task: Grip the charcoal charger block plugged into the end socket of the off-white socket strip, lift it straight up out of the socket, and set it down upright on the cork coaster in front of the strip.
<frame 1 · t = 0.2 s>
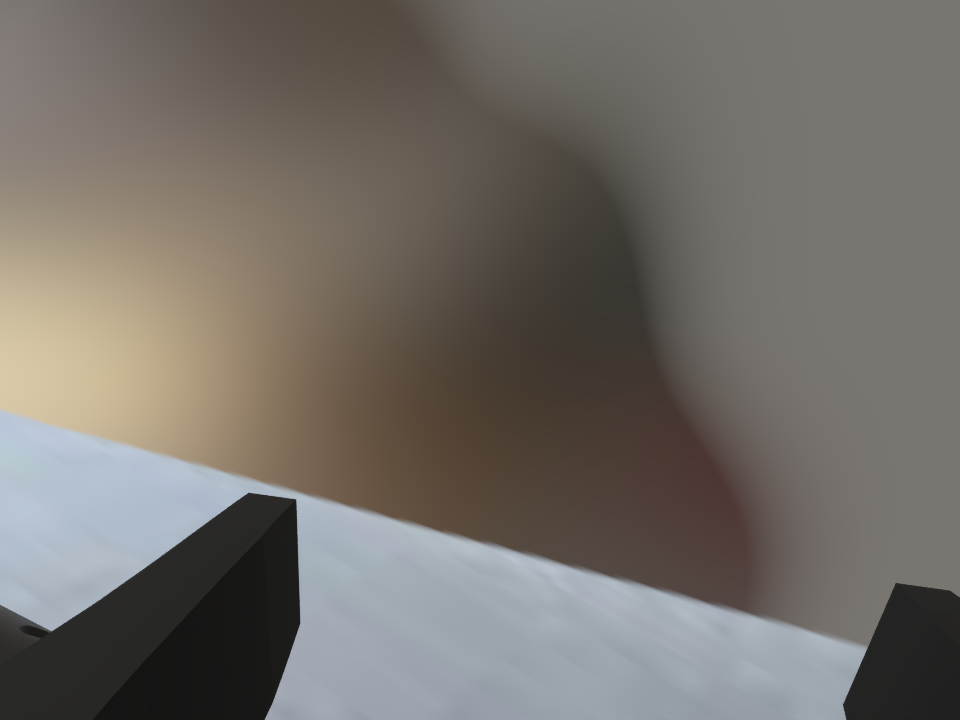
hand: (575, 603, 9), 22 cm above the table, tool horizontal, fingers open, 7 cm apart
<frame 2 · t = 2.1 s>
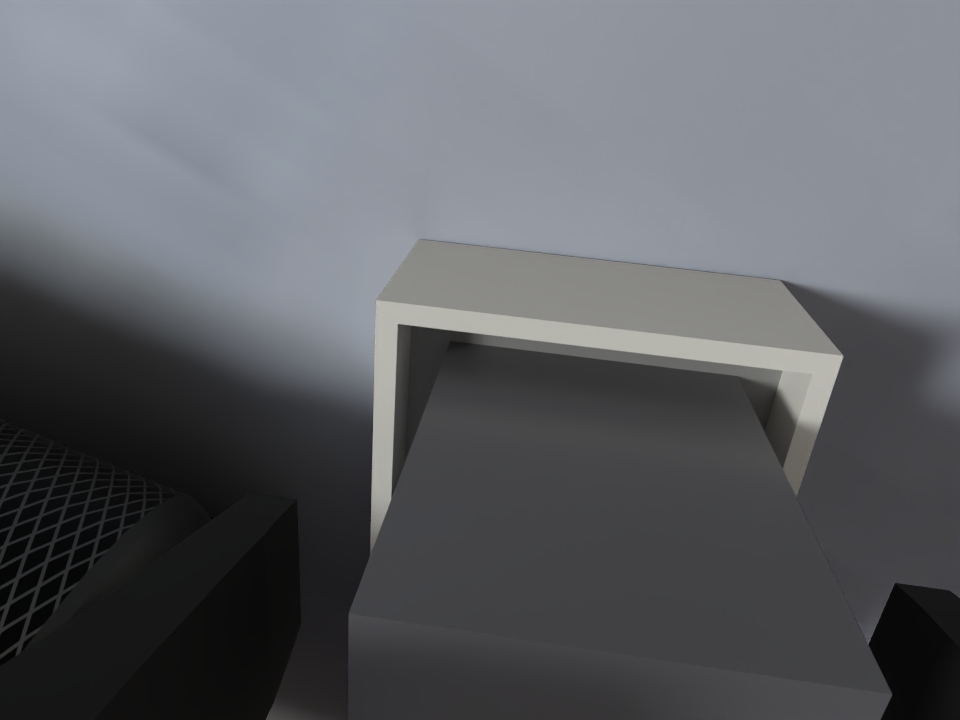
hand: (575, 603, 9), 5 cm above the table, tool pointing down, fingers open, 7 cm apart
socket strip: (528, 684, 16), on the table
charger: (572, 477, 11), point 2 cm above the table, touching socket strip
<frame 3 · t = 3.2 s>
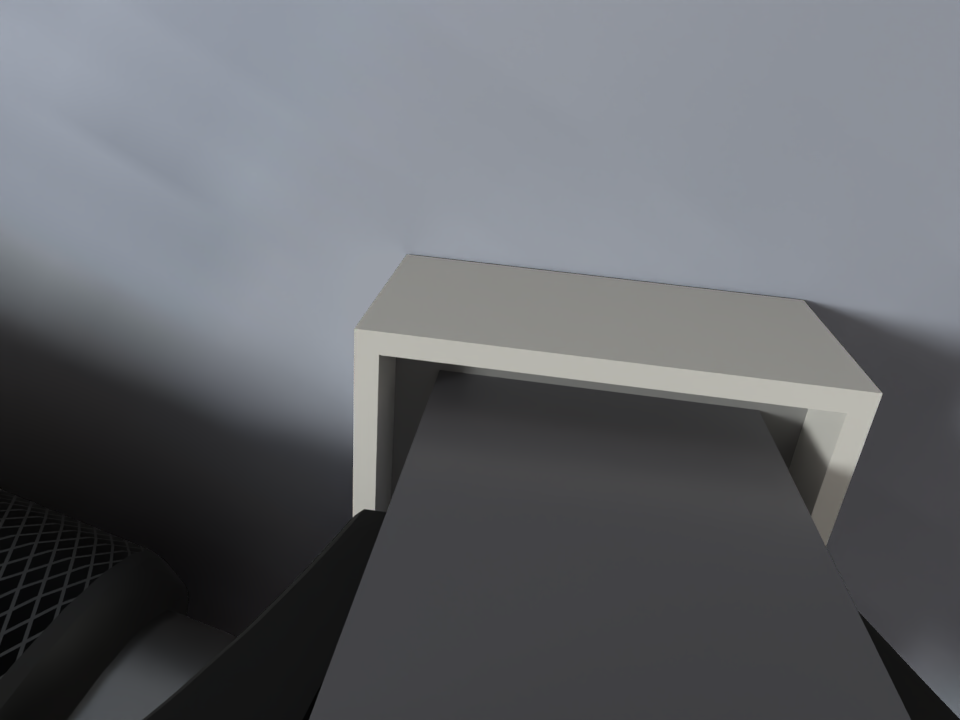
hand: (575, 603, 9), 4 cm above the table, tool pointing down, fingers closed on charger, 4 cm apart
charger: (574, 517, 10), point 2 cm above the table, touching gripper, socket strip
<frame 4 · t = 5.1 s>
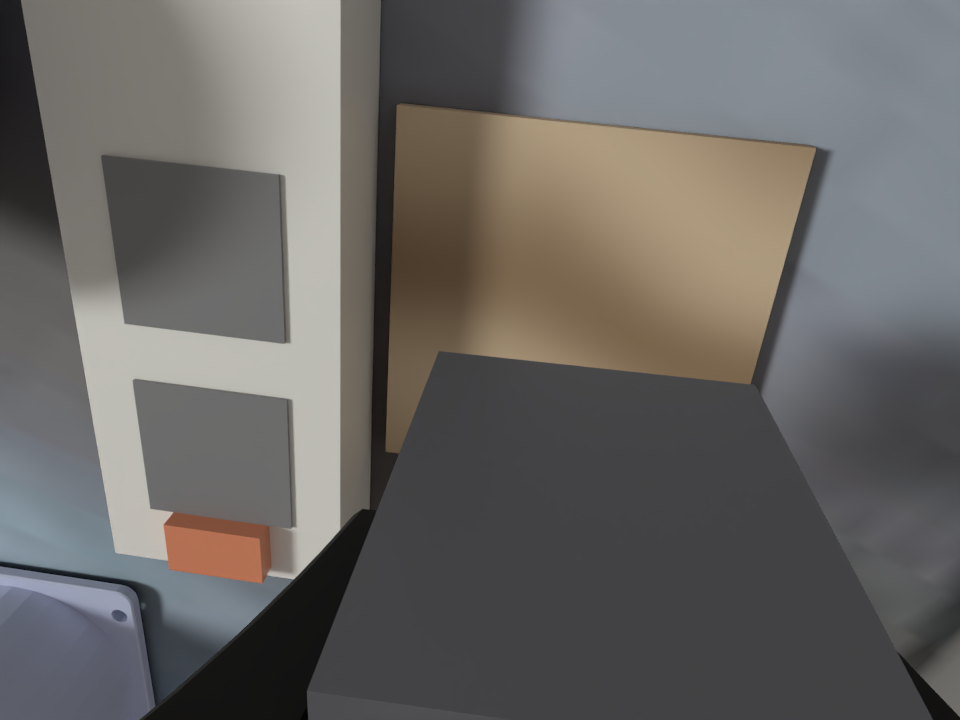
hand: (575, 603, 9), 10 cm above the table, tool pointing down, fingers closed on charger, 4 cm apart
socket strip: (252, 155, 17), on the table
charger: (575, 497, 10), point 8 cm above the table, touching gripper
coaster: (573, 313, 18), on the table
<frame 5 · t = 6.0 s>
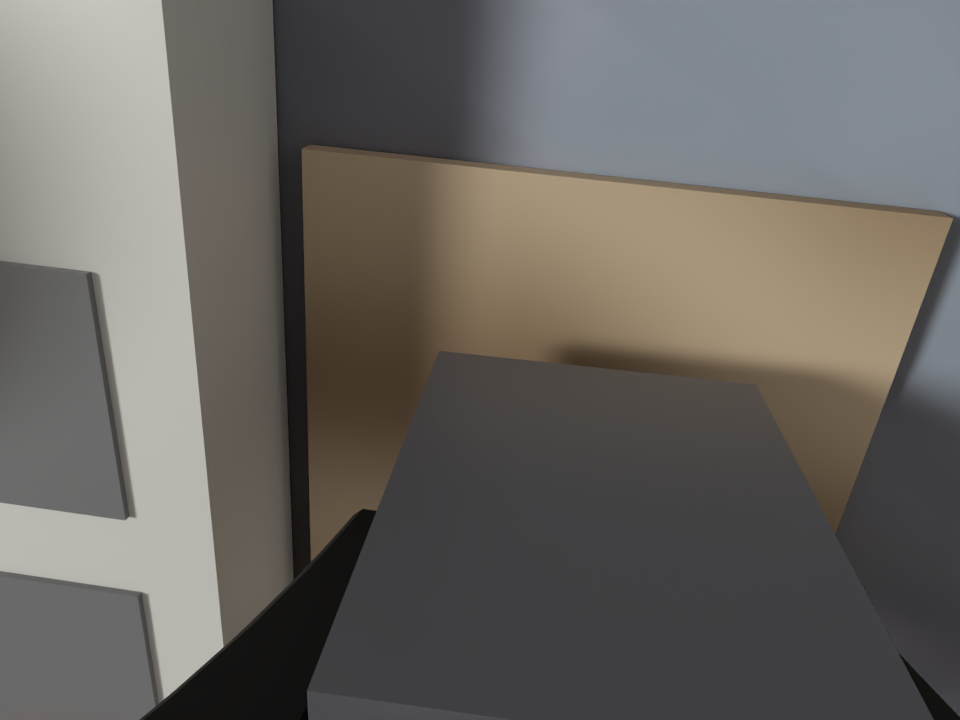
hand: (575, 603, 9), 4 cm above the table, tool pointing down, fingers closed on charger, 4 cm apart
socket strip: (98, 218, 11), on the table
charger: (575, 496, 10), point 2 cm above the table, touching gripper
coaster: (572, 443, 12), on the table
when the fingers open (3 cm above the table, at t = 6.9 s): charger drops 1 cm, resting on coaster.
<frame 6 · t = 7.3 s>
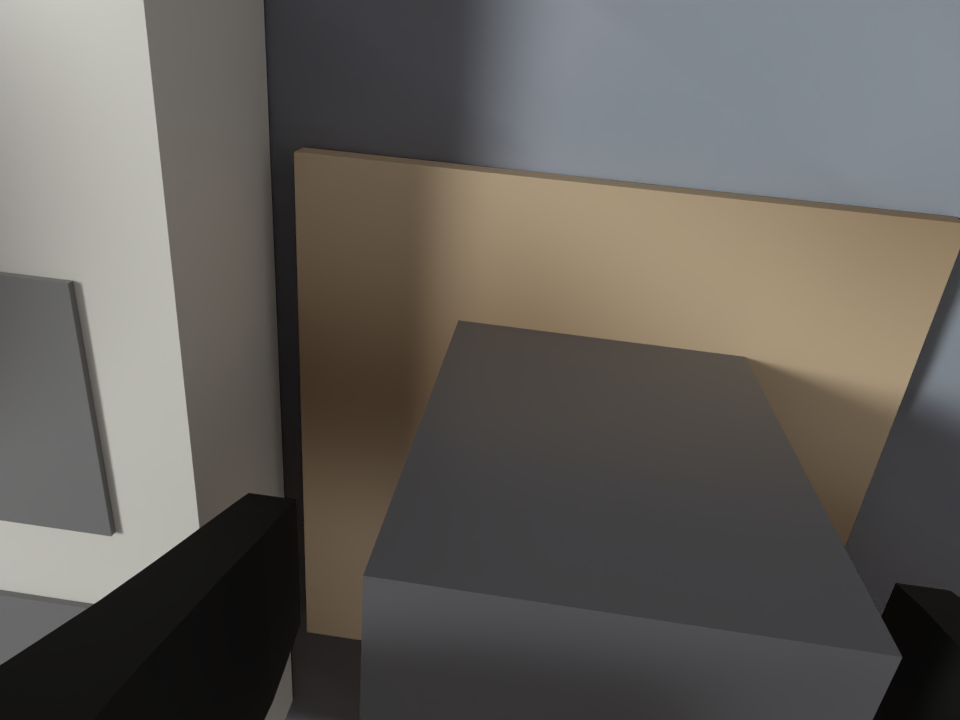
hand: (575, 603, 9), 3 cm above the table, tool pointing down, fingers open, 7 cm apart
socket strip: (85, 223, 11), on the table
charger: (578, 458, 11), resting on coaster
coaster: (574, 454, 12), on the table
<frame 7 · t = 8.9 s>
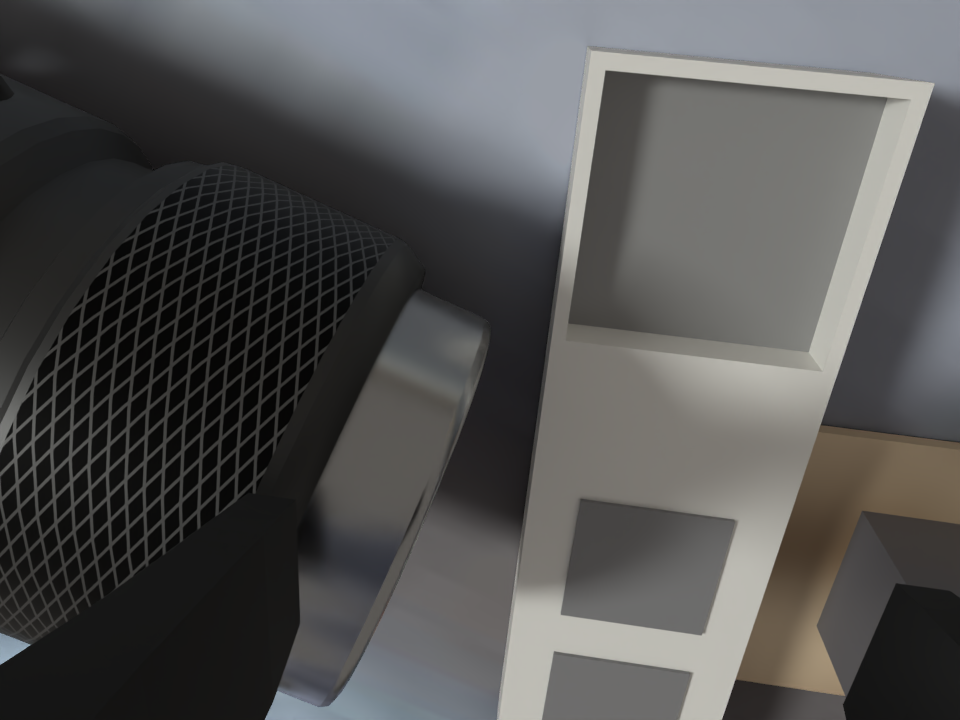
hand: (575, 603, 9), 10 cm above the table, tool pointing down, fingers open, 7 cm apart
socket strip: (642, 451, 20), on the table
charger: (914, 581, 20), resting on coaster
coaster: (905, 576, 21), on the table
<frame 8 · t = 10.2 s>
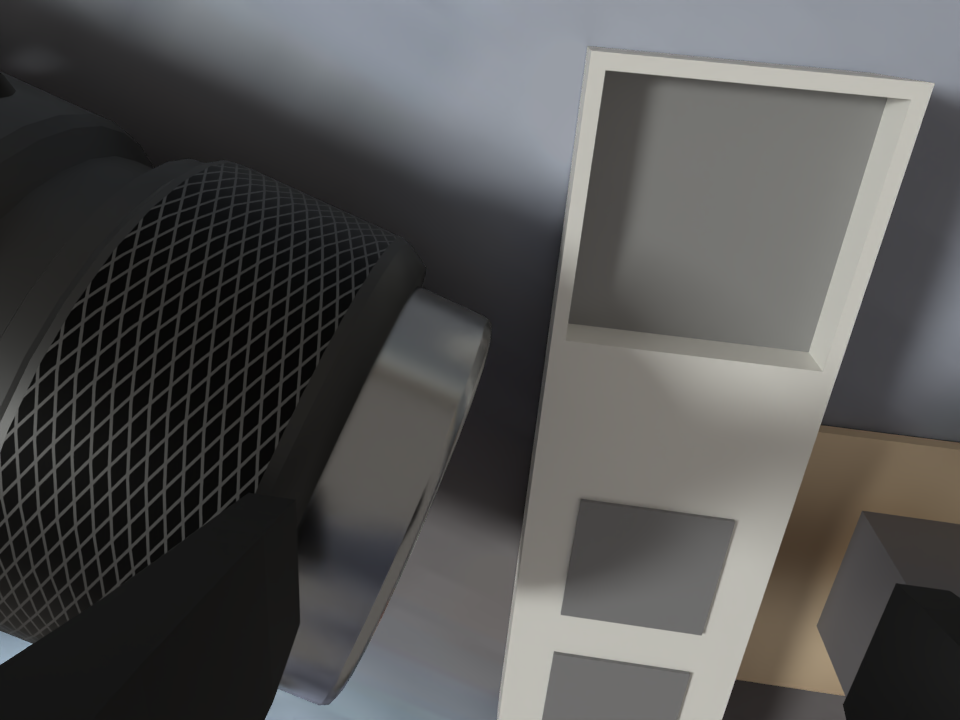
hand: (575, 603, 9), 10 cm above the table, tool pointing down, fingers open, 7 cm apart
socket strip: (642, 451, 20), on the table
charger: (914, 581, 20), resting on coaster
coaster: (905, 576, 21), on the table
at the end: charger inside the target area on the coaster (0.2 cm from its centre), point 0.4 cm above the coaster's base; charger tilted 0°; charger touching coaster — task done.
